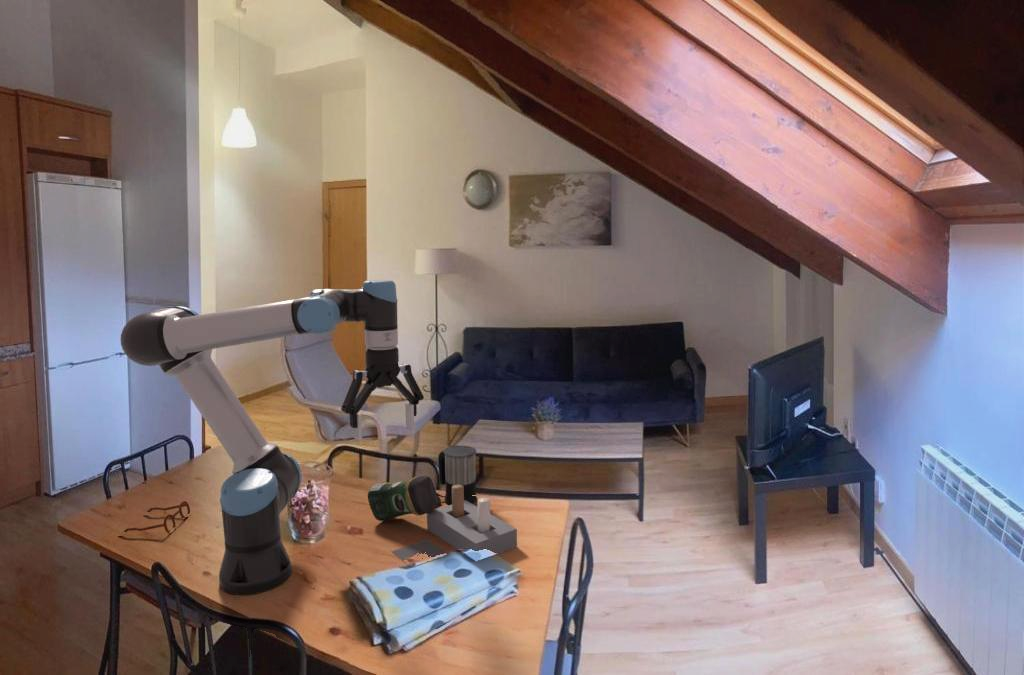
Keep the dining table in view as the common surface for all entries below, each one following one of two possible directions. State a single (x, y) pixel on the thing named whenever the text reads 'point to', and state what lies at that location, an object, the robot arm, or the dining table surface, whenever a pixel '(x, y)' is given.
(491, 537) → the block
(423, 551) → the mat
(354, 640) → the dining table surface
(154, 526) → the glasses
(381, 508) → the coffee jar
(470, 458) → the milk frother
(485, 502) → the peg
